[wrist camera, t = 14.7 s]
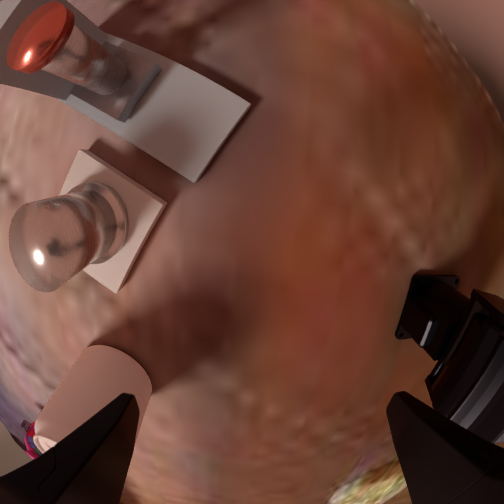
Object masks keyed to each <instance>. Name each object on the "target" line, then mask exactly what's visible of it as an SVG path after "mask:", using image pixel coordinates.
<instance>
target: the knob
mask: <svg viewBox="0 0 504 504" xmlns="http://www.w3.org/2000/svg"><path fill="white" fill-rule="evenodd" d="M128 230H129V217H128V212H127V209H126V206H125V204H124V201H123V200H122V198H121V197H120V195H119V194H118V193H117V192H116V191H115V190H114V189H113V188H112V187H110V186H108V185H107V184H104V183H100V182H90V183H83V184H80V185H77V186H75V187H74V188H72V189H71V190H70V191H69V192H68V193H67V194H65V195H60V196H56V197H51V198H47V199H43V200H39V201H35V202H31V203H27V204H25V205H23V206H21V207H20V208H19V209H18V210H17V211H16V213H15V214H14V216H13V218H12V221H11V224H10V230H9V246H10V252H11V256H12V259H13V262H14V264H15V267H16V269H17V270H18V272H19V274H20V275H21V277H22V278H23V279H24V280H25V281H26V282H27V283H28V284H29V285H30V286H31V287H33V288H34V289H36V290H38V291H41V292H51V291H54V290H56V289H57V288H59V287H60V286H61V285H63V284H64V283H65V282H67V281H68V280H69V279H71V278H72V277H73V276H75V275H76V274H77V273H79V272H80V271H81V270H83V269H84V268H85V267H87V266H88V265H90V264H100V263H103V262H105V261H107V260H109V259H110V258H111V257H113V256H114V255H115V254H117V253H118V252H119V251H120V250H121V248H122V247H123V245H124V243H125V241H126V239H127V235H128Z"/></svg>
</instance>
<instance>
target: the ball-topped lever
mask: <svg viewBox="0 0 504 504" xmlns="http://www.w3.org/2000/svg"><path fill="white" fill-rule="evenodd" d="M74 23H75V17H74V14H73V12H72V11H71V10H69V9H68V8H67V7H65V6H64V5H63V4H61V3H60V2H57V1H53V2H49V3H46V4H44V5H42V6H41V7H39V8H38V9H36V10H35V11H34V12H33V13H31V14H30V15H29V16H28V17H27V18H26V19H25V20H24V22H23V23H22V24H21V25H20V27H19V28H18V29H17V31H16V33H15V34H14V36H13V38H12V40H11V42H10V45H9V48H8V51H7V64H8V66H9V68H11V69H14V70H17V71H20V72H23V73H27V74H31V73H35V72H37V71H39V70H44V71H46V72H49V73H51V74H54V75H56V76H59V77H61V78H64V79H66V80H69V81H71V82H73V83H76V85H75V86H74V88H73V89H72V91H71V93H70V94H72V95H74V96H76V97H77V98H79V99H81V100H83V101H85V102H86V103H88V104H90V105H92V106H93V107H95V108H97V109H99V110H100V111H102V112H104V113H106V114H107V115H109V116H111V117H113V118H114V119H116V120H118V121H121V122H124V123H126V121H127V119H128V118H129V116H130V115H131V113H132V111H133V110H134V108H135V107H136V105H137V104H138V102H139V101H140V99H141V98H142V97H143V95H144V94H145V92H146V91H147V89H148V88H149V87H150V85H151V84H152V83H153V81H154V80H155V79H156V77H157V76H158V75H159V73H160V72H161V71H162V69H161V68H160V67H159V65H158V64H157V63H155V62H153V61H151V60H149V59H147V58H145V57H142V56H140V55H138V54H135V53H133V52H131V51H128V50H126V49H123V48H121V47H119V46H116V45H113V44H111V43H108V42H106V41H105V43H104V44H103V45H100V44H99V43H98V42H97V41H95V40H94V39H93V38H91V37H90V36H89V35H87V34H86V33H85V32H83V31H82V30H81V29H79V28H78V27H77V26H75V25H74Z"/></svg>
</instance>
